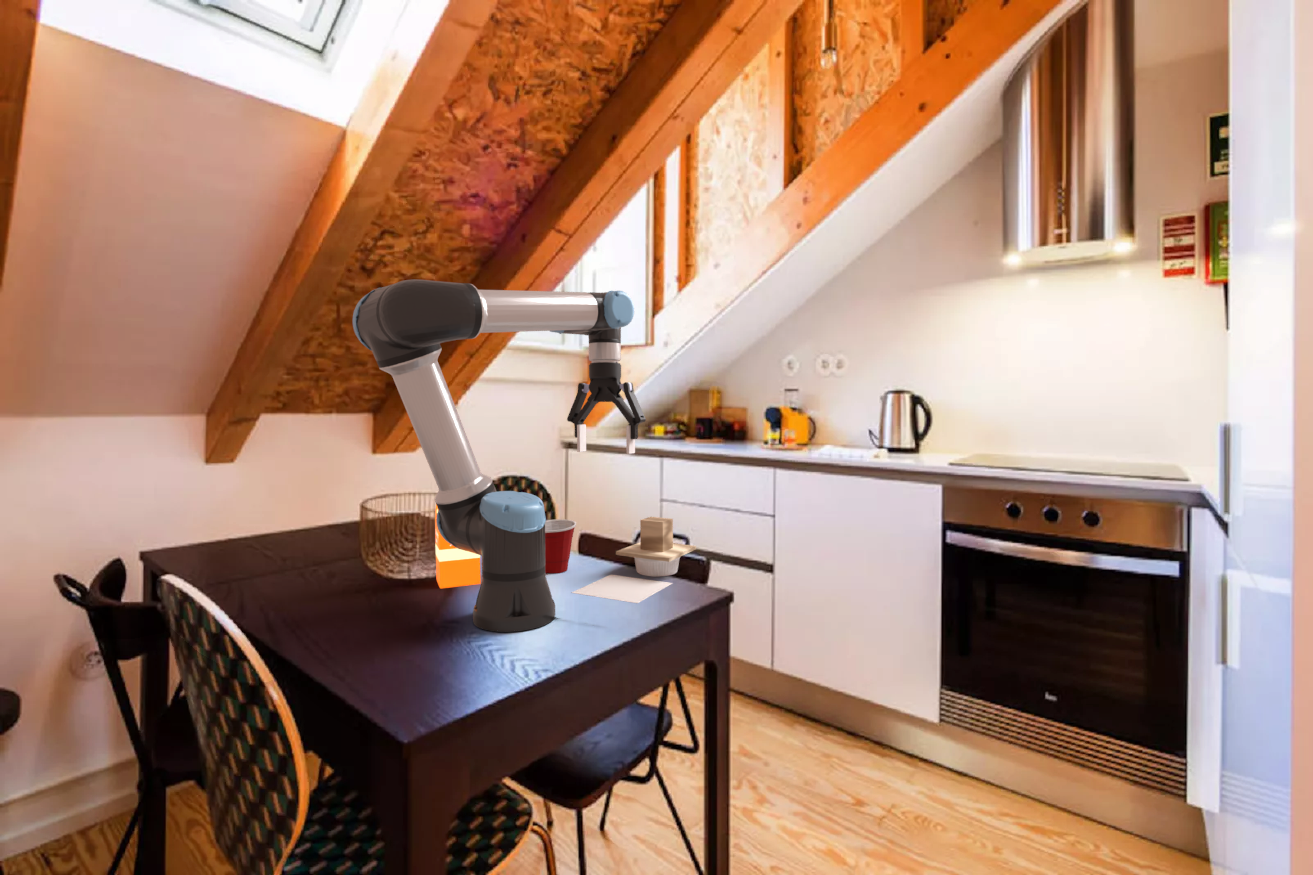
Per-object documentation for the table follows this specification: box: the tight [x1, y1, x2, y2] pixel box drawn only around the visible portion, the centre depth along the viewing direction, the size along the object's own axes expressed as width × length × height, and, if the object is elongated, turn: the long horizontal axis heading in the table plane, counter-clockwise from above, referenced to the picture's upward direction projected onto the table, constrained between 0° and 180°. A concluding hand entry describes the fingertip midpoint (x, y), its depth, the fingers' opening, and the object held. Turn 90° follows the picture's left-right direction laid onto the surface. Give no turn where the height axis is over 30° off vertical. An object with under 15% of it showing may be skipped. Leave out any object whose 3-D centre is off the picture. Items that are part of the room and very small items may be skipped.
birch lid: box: [615, 516, 697, 562], centre depth 154 cm, size 14×14×8 cm
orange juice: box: [434, 504, 482, 589], centre depth 147 cm, size 8×9×20 cm
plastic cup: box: [545, 518, 577, 575], centre depth 155 cm, size 11×11×12 cm
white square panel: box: [571, 574, 673, 604], centre depth 140 cm, size 16×16×1 cm
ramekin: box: [633, 557, 681, 577], centre depth 154 cm, size 11×11×5 cm
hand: (605, 452), depth 154 cm, fingers open, 13 cm apart
